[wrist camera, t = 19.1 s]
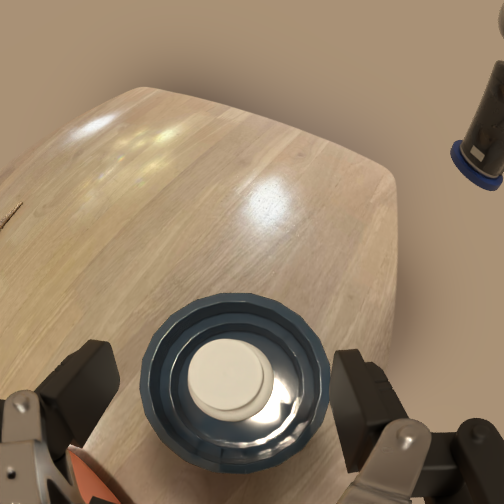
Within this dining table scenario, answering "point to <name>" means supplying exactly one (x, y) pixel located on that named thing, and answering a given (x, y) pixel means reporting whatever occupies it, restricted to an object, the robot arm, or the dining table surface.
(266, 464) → the bowl
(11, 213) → the jawbone
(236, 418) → the pill bottle
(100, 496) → the teapot
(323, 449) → the dining table surface
